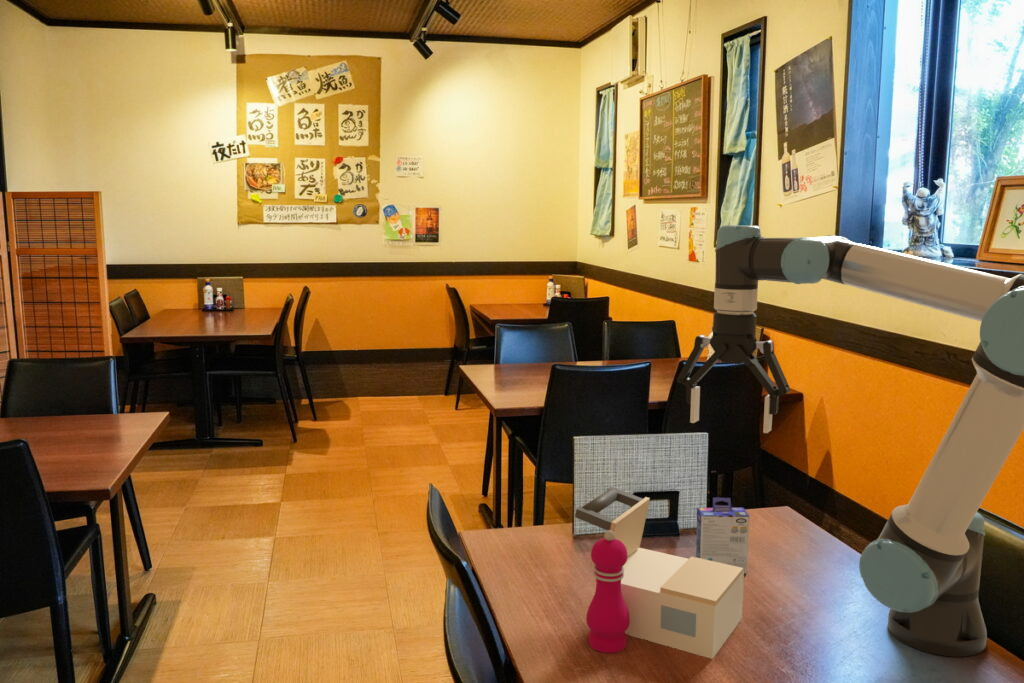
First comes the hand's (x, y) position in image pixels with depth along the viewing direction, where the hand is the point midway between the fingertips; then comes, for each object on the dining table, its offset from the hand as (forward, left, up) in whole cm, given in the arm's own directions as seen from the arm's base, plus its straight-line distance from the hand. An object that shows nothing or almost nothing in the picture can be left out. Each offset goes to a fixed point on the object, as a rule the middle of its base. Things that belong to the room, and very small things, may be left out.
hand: (730, 426), depth 156 cm
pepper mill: (+11, +29, -33) cm, 45 cm away
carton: (+4, +16, -33) cm, 37 cm away
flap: (+13, +16, -18) cm, 27 cm away
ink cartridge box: (+4, -11, -33) cm, 35 cm away
